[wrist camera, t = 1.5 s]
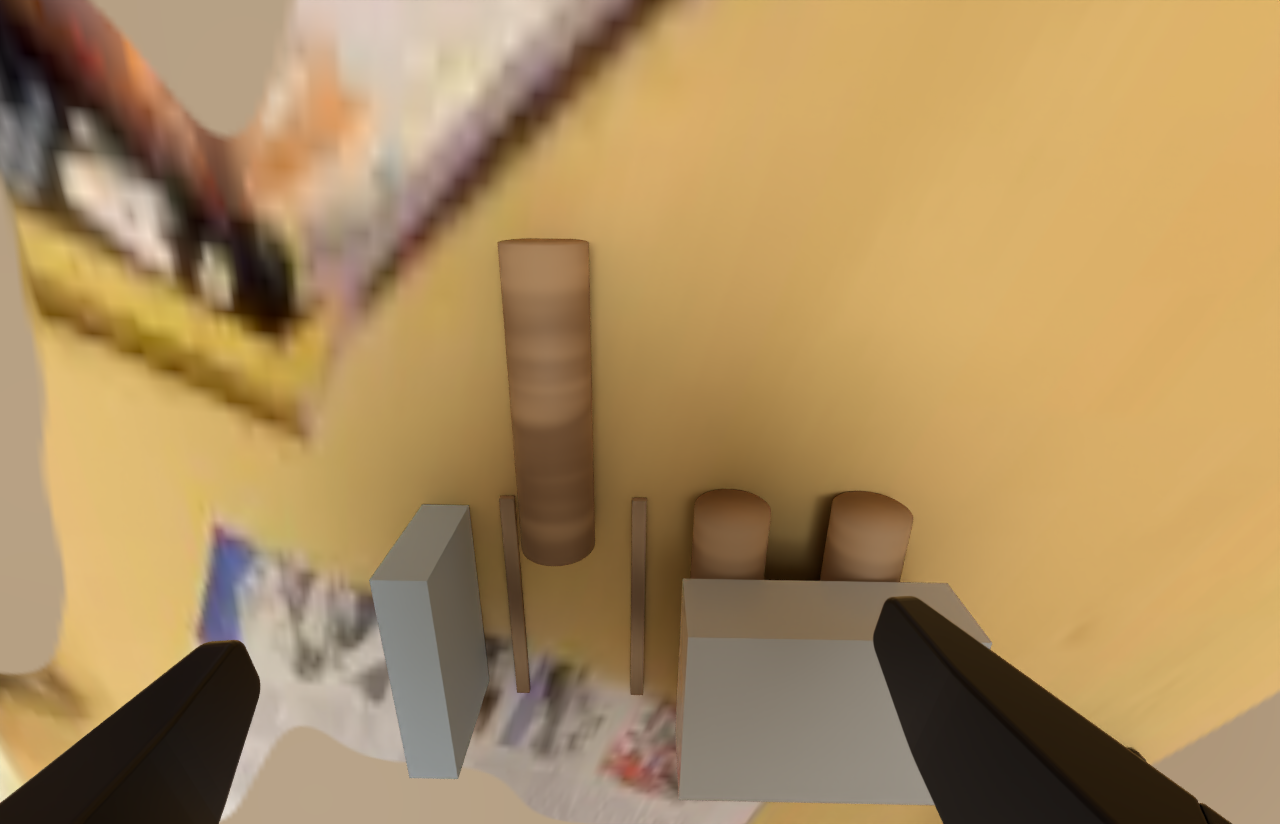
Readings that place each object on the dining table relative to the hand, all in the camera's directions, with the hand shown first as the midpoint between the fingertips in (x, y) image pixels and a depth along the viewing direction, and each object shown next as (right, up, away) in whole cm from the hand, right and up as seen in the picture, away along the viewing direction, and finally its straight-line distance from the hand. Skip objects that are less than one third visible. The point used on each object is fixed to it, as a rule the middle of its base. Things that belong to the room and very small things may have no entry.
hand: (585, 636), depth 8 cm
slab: (+7, -7, +15) cm, 18 cm away
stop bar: (-8, -5, +18) cm, 20 cm away
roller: (-2, +4, +15) cm, 15 cm away
